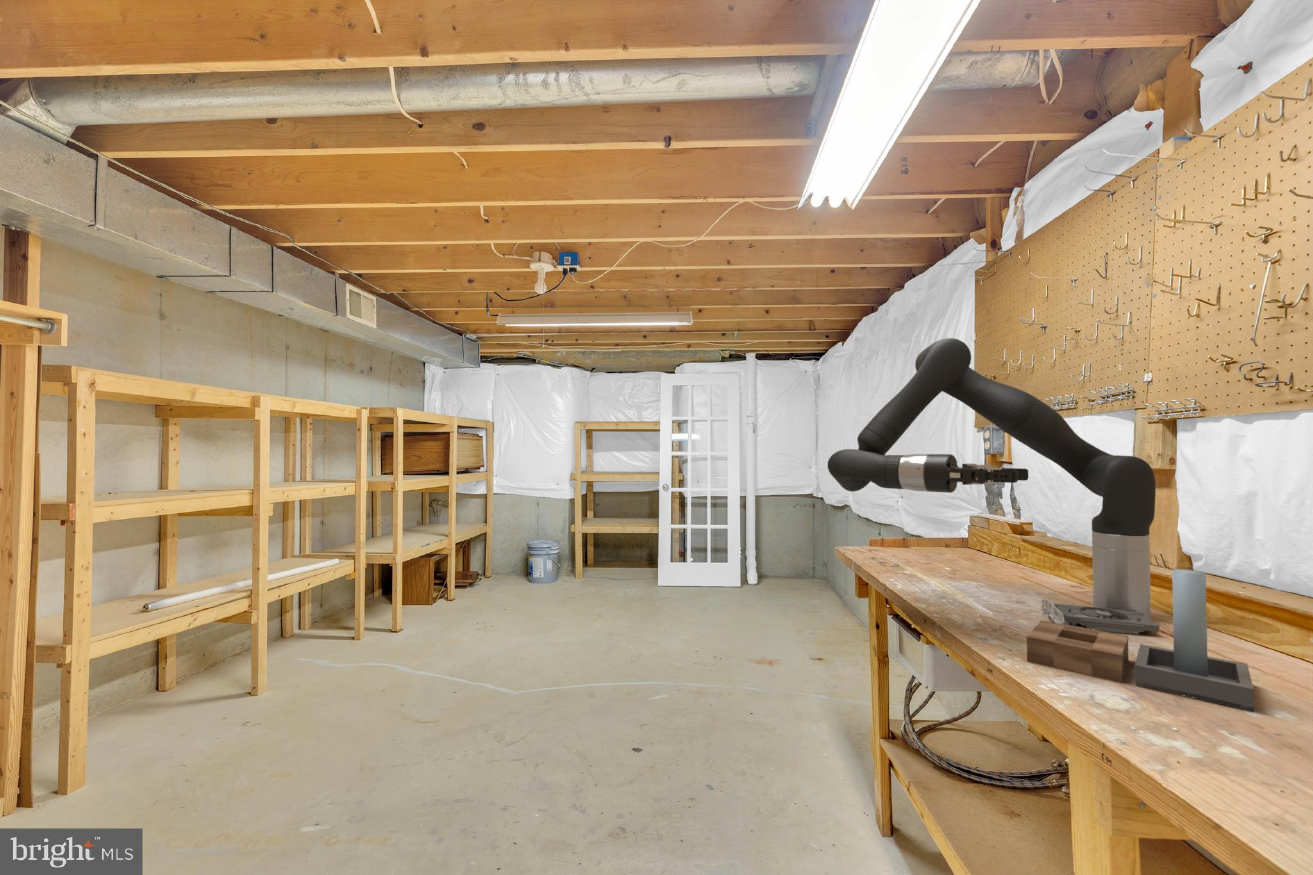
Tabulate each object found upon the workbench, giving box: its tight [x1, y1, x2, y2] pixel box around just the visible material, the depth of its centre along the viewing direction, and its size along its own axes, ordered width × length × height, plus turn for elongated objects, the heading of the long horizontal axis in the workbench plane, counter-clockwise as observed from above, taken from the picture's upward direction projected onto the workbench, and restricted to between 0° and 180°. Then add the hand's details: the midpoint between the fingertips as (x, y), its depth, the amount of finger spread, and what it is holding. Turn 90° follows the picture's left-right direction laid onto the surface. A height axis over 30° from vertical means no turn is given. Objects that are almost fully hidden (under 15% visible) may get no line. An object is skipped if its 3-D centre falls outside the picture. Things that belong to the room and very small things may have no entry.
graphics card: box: [1041, 599, 1160, 635], centre depth 109 cm, size 17×4×12 cm
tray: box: [1134, 643, 1255, 713], centre depth 83 cm, size 12×12×3 cm
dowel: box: [1171, 568, 1208, 677], centre depth 83 cm, size 4×4×16 cm
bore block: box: [1026, 619, 1129, 683], centre depth 92 cm, size 12×12×4 cm
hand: (1022, 475), depth 101 cm, fingers open, 8 cm apart
